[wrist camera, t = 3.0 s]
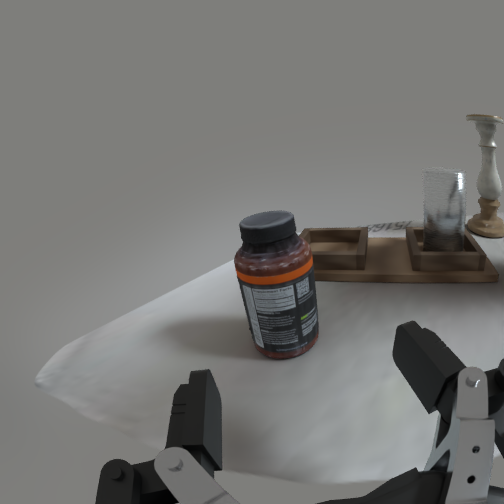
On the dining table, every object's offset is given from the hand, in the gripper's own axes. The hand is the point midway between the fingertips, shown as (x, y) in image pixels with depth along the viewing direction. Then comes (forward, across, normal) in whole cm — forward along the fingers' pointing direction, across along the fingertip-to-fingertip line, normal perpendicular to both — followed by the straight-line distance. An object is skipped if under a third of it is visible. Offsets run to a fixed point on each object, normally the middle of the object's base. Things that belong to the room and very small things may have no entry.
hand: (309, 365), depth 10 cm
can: (+18, -24, +6) cm, 30 cm away
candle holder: (+22, -41, +8) cm, 48 cm away
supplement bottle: (+11, 0, +8) cm, 14 cm away
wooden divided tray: (+22, -17, +8) cm, 28 cm away
